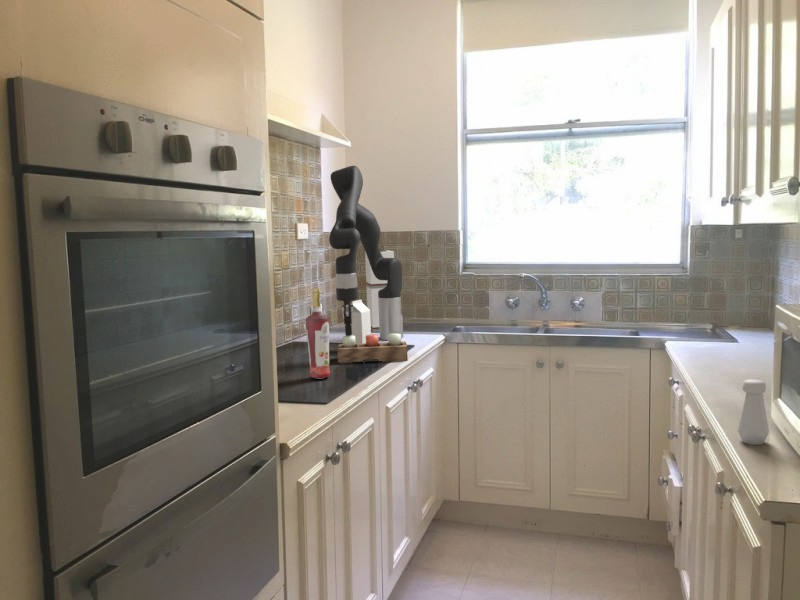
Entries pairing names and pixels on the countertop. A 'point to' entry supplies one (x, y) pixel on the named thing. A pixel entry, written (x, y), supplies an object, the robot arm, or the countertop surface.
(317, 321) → the liquor
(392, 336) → the cream white sphere
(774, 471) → the countertop surface
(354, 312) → the milk carton
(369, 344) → the red ball
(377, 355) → the wooden ball rack
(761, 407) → the salt shaker
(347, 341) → the pale green sphere
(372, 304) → the white notched tower
